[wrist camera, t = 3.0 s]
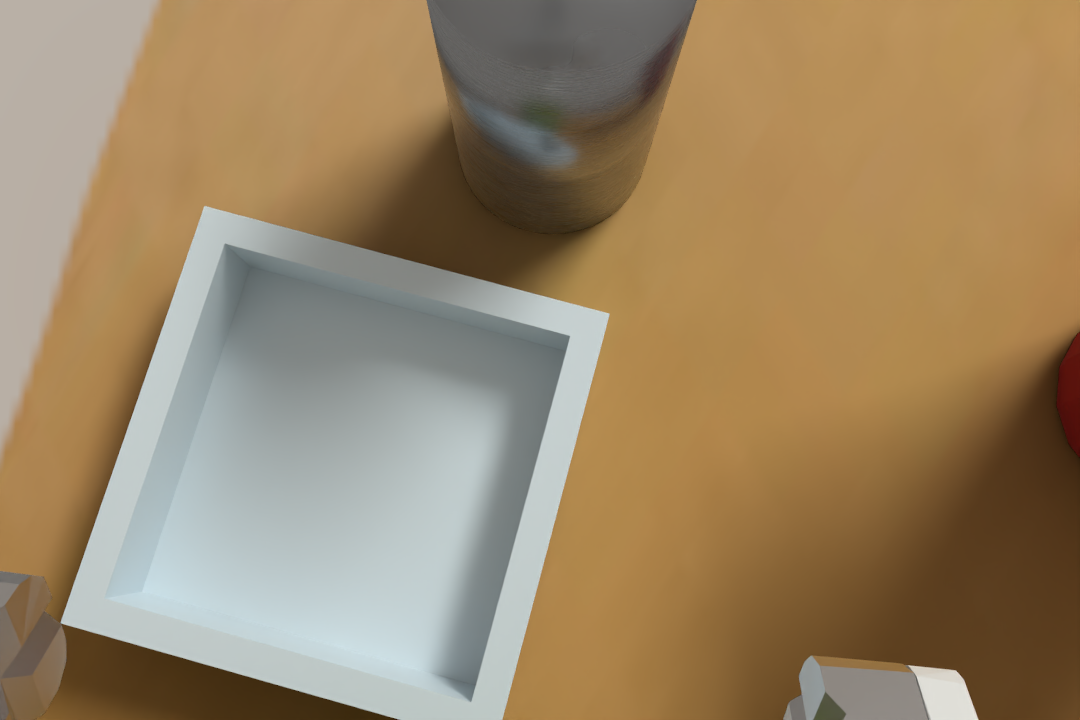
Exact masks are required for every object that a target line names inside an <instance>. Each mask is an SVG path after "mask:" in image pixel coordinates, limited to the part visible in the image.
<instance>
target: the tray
mask: <svg viewBox="0 0 1080 720" xmlns="http://www.w3.org/2000/svg"><path fill="white" fill-rule="evenodd" d="M608 318H609V314H608V313H605V312H601V311H597V310H593V309H590V308H586V307H582V306H578V305H575V304H571V303H567V302H563V301H559V300H556V299H552V298H548V297H544V296H541V295H537V294H533V293H529V292H526V291H522V290H518V289H514V288H511V287H507V286H503V285H499V284H496V283H492V282H488V281H484V280H481V279H477V278H473V277H469V276H466V275H462V274H458V273H454V272H451V271H447V270H443V269H439V268H436V267H432V266H428V265H424V264H420V263H417V262H413V261H409V260H405V259H402V258H398V257H394V256H390V255H387V254H383V253H379V252H375V251H372V250H368V249H364V248H360V247H357V246H353V245H349V244H345V243H342V242H338V241H334V240H330V239H327V238H323V237H319V236H315V235H312V234H308V233H304V232H300V231H297V230H293V229H289V228H285V227H281V226H278V225H274V224H270V223H266V222H263V221H259V220H255V219H251V218H248V217H244V216H240V215H236V214H233V213H229V212H225V211H221V210H218V209H214V208H210V207H206V206H204V209H203V212H202V215H201V218H200V221H199V224H198V227H197V230H196V232H195V235H194V238H193V241H192V244H191V247H190V250H189V253H188V256H187V258H186V261H185V264H184V267H183V270H182V273H181V276H180V279H179V282H178V284H177V287H176V290H175V293H174V296H173V299H172V302H171V305H170V308H169V310H168V313H167V316H166V319H165V322H164V325H163V328H162V331H161V334H160V336H159V339H158V342H157V345H156V348H155V351H154V354H153V357H152V360H151V363H150V365H149V368H148V371H147V374H146V377H145V380H144V383H143V386H142V389H141V391H140V394H139V397H138V400H137V403H136V406H135V409H134V412H133V415H132V417H131V420H130V423H129V426H128V429H127V432H126V435H125V438H124V441H123V443H122V446H121V449H120V452H119V455H118V458H117V461H116V464H115V467H114V469H113V472H112V475H111V478H110V481H109V484H108V487H107V490H106V493H105V495H104V498H103V501H102V504H101V507H100V510H99V513H98V516H97V519H96V521H95V524H94V527H93V530H92V533H91V536H90V539H89V542H88V545H87V548H86V550H85V553H84V556H83V559H82V562H81V565H80V568H79V571H78V574H77V576H76V579H75V582H74V585H73V588H72V591H71V594H70V597H69V600H68V602H67V605H66V608H65V611H64V614H63V617H62V620H61V624H65V625H68V626H72V627H75V628H79V629H82V630H86V631H89V632H93V633H96V634H100V635H104V636H107V637H111V638H114V639H118V640H121V641H125V642H128V643H132V644H135V645H139V646H142V647H146V648H149V649H153V650H156V651H160V652H163V653H167V654H170V655H174V656H177V657H181V658H184V659H188V660H191V661H195V662H198V663H202V664H205V665H209V666H213V667H216V668H220V669H223V670H227V671H230V672H234V673H237V674H241V675H244V676H248V677H251V678H255V679H258V680H262V681H265V682H269V683H272V684H276V685H279V686H283V687H286V688H290V689H293V690H297V691H300V692H304V693H307V694H311V695H315V696H318V697H322V698H325V699H329V700H332V701H336V702H339V703H343V704H346V705H350V706H353V707H357V708H360V709H364V710H367V711H371V712H374V713H378V714H381V715H385V716H388V717H392V718H395V719H399V720H502V719H503V715H504V711H505V707H506V704H507V700H508V696H509V692H510V688H511V685H512V681H513V677H514V673H515V670H516V666H517V662H518V658H519V654H520V651H521V647H522V643H523V639H524V636H525V632H526V628H527V624H528V620H529V617H530V613H531V609H532V605H533V602H534V598H535V594H536V590H537V586H538V583H539V579H540V575H541V571H542V568H543V564H544V560H545V556H546V552H547V549H548V545H549V541H550V537H551V533H552V530H553V526H554V522H555V518H556V515H557V511H558V507H559V503H560V499H561V496H562V492H563V488H564V484H565V481H566V477H567V473H568V469H569V465H570V462H571V458H572V454H573V450H574V447H575V443H576V439H577V435H578V431H579V428H580V424H581V420H582V416H583V413H584V409H585V405H586V401H587V397H588V394H589V390H590V386H591V382H592V379H593V375H594V371H595V367H596V363H597V360H598V356H599V352H600V348H601V345H602V341H603V337H604V333H605V329H606V326H607V322H608Z"/></svg>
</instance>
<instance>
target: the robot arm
mask: <svg viewBox="0 0 1080 720" xmlns="http://www.w3.org/2000/svg"><path fill="white" fill-rule="evenodd" d="M51 599H52V595H51V593H50V590H49V588H48V586H47V583H46V581H45V578H44V577H42V576H34V575H26V574H19V573H11V572H3V571H0V720H35V719H37V718H38V717H40V716H41V715H43V714H44V713H46V711H47V709H48V707H49V705H50V703H51V702H52V700H53V698H54V696H55V694H56V692H57V690H58V689H59V686H60V682H61V678H62V675H63V671H64V667H65V664H66V660H67V658H66V638H65V635H64V631H63V628H62V625H61V624H60V623H58V622H57V621H56V620H55V619H53V618H52V617H51V616H50V615H49V614H47V613H46V612H45V611H44V610H45V609H46V607H47V605H48V604H49V602H50V601H51ZM799 680H800V686H801V692H802V695H800V696H798V697H796V698H795V699H793V700H791V701H790V702H789V703H788V706H787V709H786V712H785V716H784V719H783V720H978V717H977V714H976V711H975V709H974V706H973V703H972V700H971V698H970V695H969V692H968V689H967V687H966V684H965V681H964V679H963V678H962V677H961V676H960V675H959V673H958V672H957V671H956V670H950V669H941V668H930V667H920V666H910V665H905V666H904V665H903V664H902V663H891V662H880V661H869V660H858V659H847V658H836V657H825V656H814V655H811V656H810V657H809V658H808V659H807V660H806V661H805V662H804V665H803V667H802V669H801V672H800V674H799Z"/></svg>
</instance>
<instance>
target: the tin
mask: <svg viewBox="0 0 1080 720" xmlns="http://www.w3.org/2000/svg"><path fill="white" fill-rule="evenodd" d="M696 1H697V0H427V4H428V9H429V14H430V19H431V23H432V28H433V33H434V38H435V43H436V48H437V52H438V57H439V62H440V67H441V72H442V77H443V82H444V86H445V91H446V96H447V101H448V106H449V111H450V115H451V120H452V125H453V130H454V135H455V140H456V144H457V149H458V154H459V159H460V164H461V167H462V170H463V173H464V176H465V179H466V181H467V183H468V185H469V187H470V188H471V190H472V191H473V193H474V194H475V196H476V197H477V198H478V199H479V201H480V202H481V203H482V204H483V205H484V206H485V207H486V208H487V209H488V210H489V211H491V212H492V213H493V214H494V215H496V216H497V217H499V218H500V219H502V220H503V221H505V222H507V223H509V224H511V225H513V226H515V227H518V228H521V229H524V230H527V231H531V232H537V233H545V234H562V233H569V232H575V231H579V230H582V229H585V228H588V227H591V226H593V225H595V224H597V223H599V222H601V221H603V220H604V219H606V218H607V217H609V216H610V215H612V214H613V213H614V212H615V211H616V210H618V209H619V208H620V207H621V206H622V205H623V204H624V203H625V201H626V200H627V199H628V198H629V197H630V195H631V194H632V192H633V191H634V189H635V188H636V186H637V184H638V182H639V180H640V178H641V175H642V172H643V169H644V166H645V163H646V159H647V156H648V153H649V150H650V147H651V144H652V140H653V137H654V134H655V131H656V128H657V125H658V121H659V118H660V115H661V112H662V109H663V106H664V102H665V99H666V96H667V93H668V90H669V87H670V83H671V80H672V77H673V74H674V71H675V68H676V64H677V61H678V58H679V55H680V52H681V48H682V45H683V42H684V39H685V36H686V33H687V29H688V26H689V23H690V20H691V17H692V14H693V10H694V7H695V4H696Z"/></svg>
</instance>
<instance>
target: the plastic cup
mask: <svg viewBox="0 0 1080 720" xmlns="http://www.w3.org/2000/svg"><path fill="white" fill-rule="evenodd" d="M1056 406H1057V409H1058V412H1059V415H1060V418H1061V421H1062V424H1063V427H1064V431H1065V434H1066V437H1067V440H1068V443H1069V445H1070V446H1071V448H1072V449H1073V450H1074V451H1075V453H1076V454H1077V455H1078V456H1079V458H1080V332H1079V333H1078V334H1077V335H1076V337H1075V339H1074V341H1073V343H1072V344H1071V346H1070V348H1069V350H1068V352H1067V354H1066V356H1065V357H1064V359H1063V361H1062V363H1061V365H1060V367H1059V379H1058V392H1057V405H1056Z"/></svg>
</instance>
